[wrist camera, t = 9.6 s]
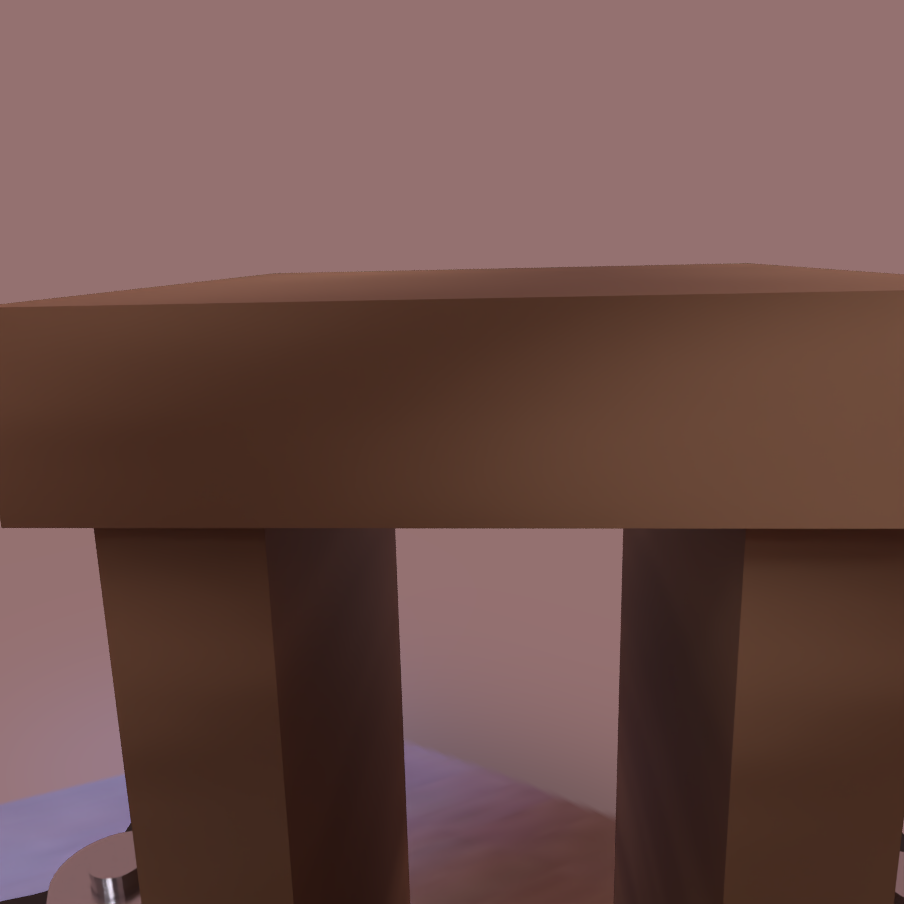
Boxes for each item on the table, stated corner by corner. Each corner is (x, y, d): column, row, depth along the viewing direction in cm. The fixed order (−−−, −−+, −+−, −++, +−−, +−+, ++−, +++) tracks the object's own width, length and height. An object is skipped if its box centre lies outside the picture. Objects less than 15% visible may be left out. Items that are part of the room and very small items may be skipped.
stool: (187, 1737, 8) (-33, 308, 5) (330, 1083, 15) (273, 272, 12) (855, 1810, 8) (1078, 286, 5) (700, 1102, 15) (748, 263, 11)
